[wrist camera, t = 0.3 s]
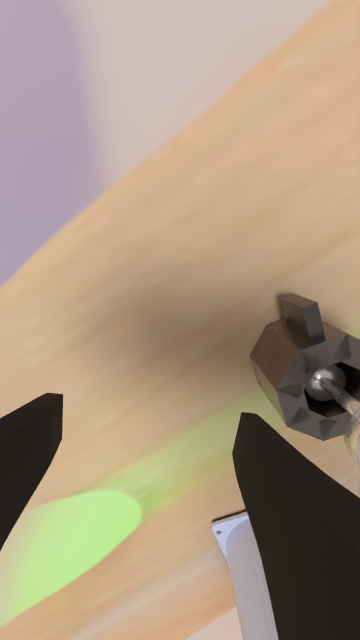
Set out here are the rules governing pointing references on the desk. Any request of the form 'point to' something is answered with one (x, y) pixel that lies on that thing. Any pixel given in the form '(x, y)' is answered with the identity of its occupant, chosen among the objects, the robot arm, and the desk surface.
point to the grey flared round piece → (330, 386)
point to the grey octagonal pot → (305, 367)
